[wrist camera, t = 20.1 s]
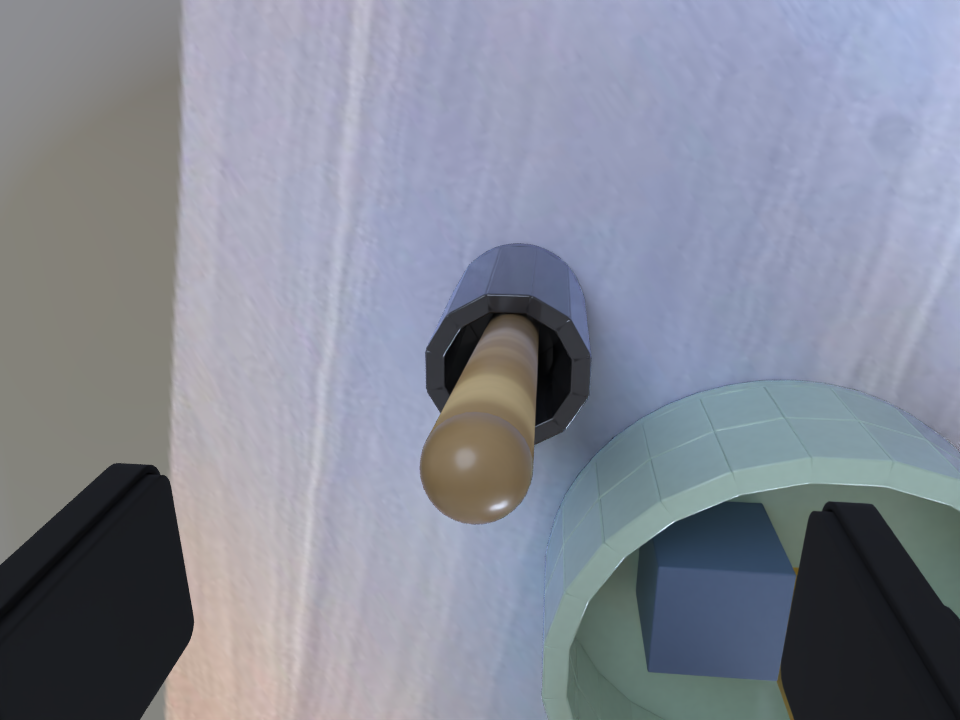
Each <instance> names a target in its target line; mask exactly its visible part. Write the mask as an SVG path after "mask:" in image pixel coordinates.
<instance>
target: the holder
mask: <svg viewBox="0 0 960 720" xmlns="http://www.w3.org/2000/svg"><path fill="white" fill-rule="evenodd" d="M494 313H512V314H527V315H528V316H530V317H532V318H533V319H535V320H537V321H538V322H539V345H538V368H537V391H536V414H535V437H534V445H535V444H537V443H540V442H542V441H544V440H546V439H548V438H551V437H553V436H555V435H557V434H559V433H561V432H563V431H564V430H566V429H567V428H568V426H569V425H570V423H571V422H572V421H573V419H574V418H575V416H576V415H577V414H578V412H579V411H580V409H581V408H582V407H583V405H584V404H585V402H586V401H587V400H588V396H589V393H590V376H591V359H592V358H591V349H590V341H589V332H588V324H587V315H586V307H585V298H584V294H583V292H582V291H581V288H580V285H579V283H578V280H577V278H576V276H575V275H574V273H573V272H572V270H571V269H570V268H569V266H568V265H567V264H566V263H565V262H564V261H563V260H562V259H561V258H559V257H558V256H557V255H555V254H554V253H552V252H550V251H548V250H546V249H544V248H541V247H539V246H535V245H531V244H522V243H515V244H506V245H501V246H498V247H495V248H493V249H491V250H488V251H486V252H485V253H483V254H482V255H480V256H479V257H478V258H476V259H475V260H474V261H473V262H471V264H469V266H468V267H467V269H466V270H465V272H464V273H463V275H462V277H461V279H460V281H459V283H458V284H457V286H456V288H455V289H454V291H453V293H452V295H451V297H450V299H449V301H448V304H447V306H446V308H445V310H444V312H443V314H442V316H441V318H440V320H439V322H438V325H437V327H436V329H435V331H434V333H433V335H432V337H431V339H430V341H429V343H428V346H427V348H426V352H425V361H426V389H427V393H428V394H429V396H430V397H431V399H432V400H433V402H434V404H435V405H436V407H437V408H438V410H439V412H440V413H441V412H442V410H443V408H444V406H445V404H446V402H447V401H448V399H449V397H450V395H451V393H452V391H453V389H454V387H455V385H456V384H457V382H458V380H459V378H460V376H461V374H462V372H463V370H464V368H465V367H466V365H467V363H468V361H469V359H470V357H471V355H472V353H473V352H474V350H475V348H476V346H477V344H478V342H479V340H480V338H481V336H482V335H483V333H484V331H485V329H486V327H487V325H488V323H489V321H490V319H491V318H492V316H493V314H494Z"/></svg>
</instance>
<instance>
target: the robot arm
mask: <svg viewBox="0 0 960 720" xmlns="http://www.w3.org/2000/svg"><path fill="white" fill-rule="evenodd" d="M193 626H194V616H193V610H192V605H191V599H190V593H189V587H188V582H187V576H186V570H185V564H184V559H183V553H182V547H181V542H180V536H179V530H178V524H177V519H176V513H175V507H174V501H173V496H172V490H171V485H170V481H169V479H168V478H167V477H166V476H164V475H160V472H159V471H158V469H157V468H156V467H155V466H153V465H141V464H121V463H116V464H113V465H111V466H109V467H108V468H107V469H106V470H105V471H104V472H103V473H102V474H100V475H99V476H98V477H97V478H96V479H95V480H94V481H93V482H92V483H91V484H89V485H88V486H87V487H86V488H85V489H84V490H83V491H82V492H80V493H79V494H78V495H77V496H76V497H75V498H74V499H73V500H72V501H71V502H69V503H68V504H67V505H66V506H65V507H64V508H63V509H62V510H61V511H59V512H58V513H57V514H56V515H55V516H54V517H53V518H52V519H51V520H50V521H48V522H47V523H46V524H45V525H44V526H43V527H42V528H41V529H40V530H39V531H37V532H36V533H35V534H34V535H33V536H32V537H31V538H30V539H29V540H28V541H26V542H25V543H24V544H23V545H22V546H21V547H20V548H19V549H18V550H16V551H15V552H14V553H13V554H12V555H11V556H10V557H9V558H8V559H6V560H5V561H4V562H3V563H2V564H1V565H0V720H140V719H141V717H142V716H143V714H144V712H145V711H146V709H147V708H148V706H149V705H150V703H151V701H152V700H153V698H154V696H155V695H156V694H157V692H158V690H159V689H160V687H161V686H162V684H163V683H164V681H165V679H166V678H167V676H168V675H169V673H170V672H171V670H172V668H173V667H174V665H175V664H176V662H177V661H178V659H179V657H180V656H181V654H182V653H183V651H184V650H185V648H186V646H187V645H188V643H189V641H190V639H191V636H192V632H193ZM781 680H782V685H783V689H784V692H785V695H786V698H787V701H788V703H789V706H790V709H791V712H792V715H793V718H794V720H960V619H959V617H958V616H957V615H956V614H955V613H954V612H953V611H952V610H951V609H950V608H949V607H947V606H945V605H944V604H943V603H942V601H941V600H940V599H939V597H938V596H937V594H936V593H935V591H934V590H933V589H932V587H931V586H930V584H929V583H928V581H927V580H926V579H925V577H924V576H923V574H922V573H921V571H920V570H919V568H918V567H917V566H916V564H915V563H914V561H913V560H912V558H911V557H910V556H909V554H908V553H907V551H906V550H905V548H904V547H903V546H902V544H901V543H900V541H899V540H898V538H897V537H896V535H895V534H894V533H893V531H892V530H891V528H890V527H889V525H888V524H887V523H886V521H885V520H884V518H883V517H882V515H881V514H880V513H879V511H878V510H877V508H876V507H875V506H874V505H873V504H869V503H852V502H833V501H828V502H827V503H825V505H824V507H823V509H822V511H813V512H811V514H810V515H809V518H808V522H807V528H806V533H805V538H804V543H803V549H802V554H801V559H800V564H799V569H798V575H797V580H796V585H795V590H794V596H793V601H792V606H791V611H790V616H789V622H788V627H787V632H786V637H785V643H784V648H783V653H782V658H781Z"/></svg>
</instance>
